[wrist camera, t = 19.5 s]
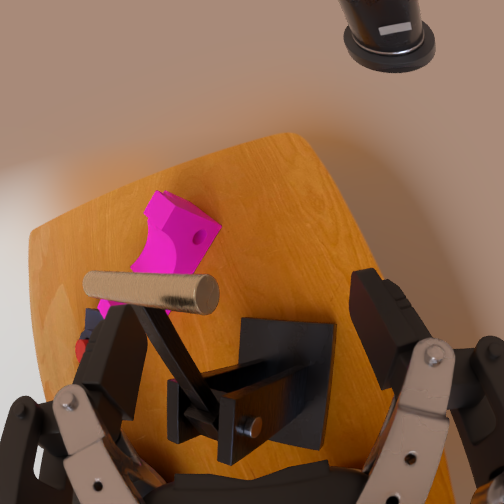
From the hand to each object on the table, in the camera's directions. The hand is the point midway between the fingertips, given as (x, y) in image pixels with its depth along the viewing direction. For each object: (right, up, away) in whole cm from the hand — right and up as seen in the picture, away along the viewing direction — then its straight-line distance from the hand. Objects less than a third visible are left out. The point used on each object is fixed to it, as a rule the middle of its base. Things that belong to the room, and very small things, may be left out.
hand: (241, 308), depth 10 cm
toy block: (-9, 0, +25) cm, 27 cm away
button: (-23, -12, +26) cm, 37 cm away
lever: (-3, -4, +5) cm, 7 cm away
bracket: (+3, -10, +15) cm, 19 cm away
